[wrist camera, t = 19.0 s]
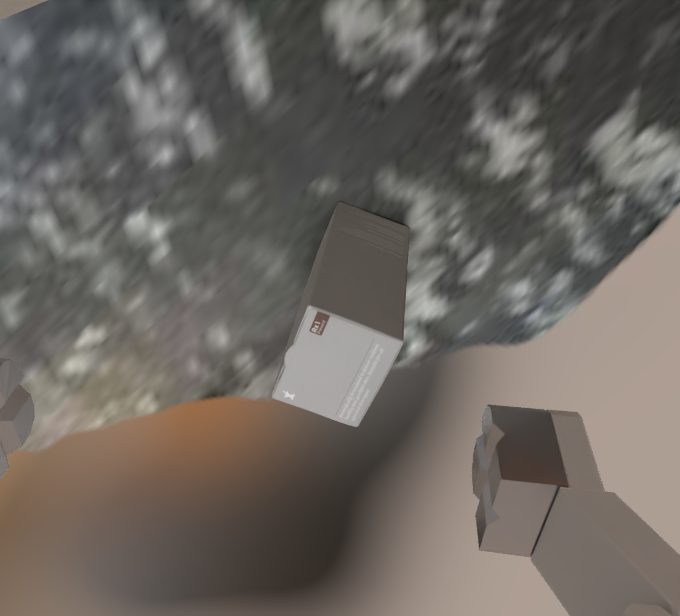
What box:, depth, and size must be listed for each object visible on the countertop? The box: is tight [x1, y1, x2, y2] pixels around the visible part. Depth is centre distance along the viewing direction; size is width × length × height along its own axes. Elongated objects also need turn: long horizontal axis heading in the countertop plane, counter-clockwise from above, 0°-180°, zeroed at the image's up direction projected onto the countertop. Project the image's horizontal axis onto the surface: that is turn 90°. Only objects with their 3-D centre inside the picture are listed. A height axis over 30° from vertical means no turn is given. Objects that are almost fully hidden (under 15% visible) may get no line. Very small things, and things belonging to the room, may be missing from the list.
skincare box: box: [272, 202, 410, 427], centre depth 46 cm, size 8×7×16 cm
